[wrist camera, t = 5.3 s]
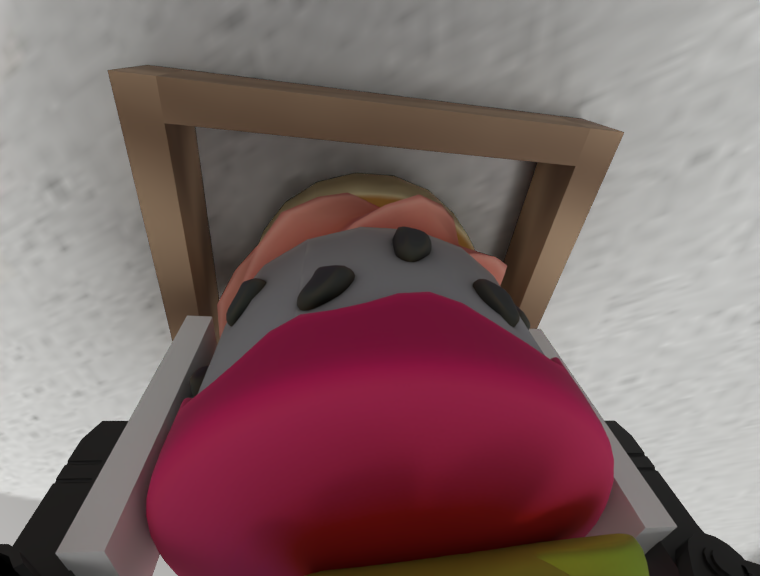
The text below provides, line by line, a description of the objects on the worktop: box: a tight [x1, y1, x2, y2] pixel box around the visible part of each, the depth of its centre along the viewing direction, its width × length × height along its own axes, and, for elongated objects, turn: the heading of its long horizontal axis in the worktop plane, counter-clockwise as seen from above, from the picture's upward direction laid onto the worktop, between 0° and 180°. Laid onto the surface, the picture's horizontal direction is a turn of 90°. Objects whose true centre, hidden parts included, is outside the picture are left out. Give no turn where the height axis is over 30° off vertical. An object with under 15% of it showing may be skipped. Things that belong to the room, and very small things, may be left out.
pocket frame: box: [108, 65, 624, 345], centre depth 16 cm, size 15×15×2 cm
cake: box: [146, 173, 649, 576], centre depth 11 cm, size 10×11×15 cm
